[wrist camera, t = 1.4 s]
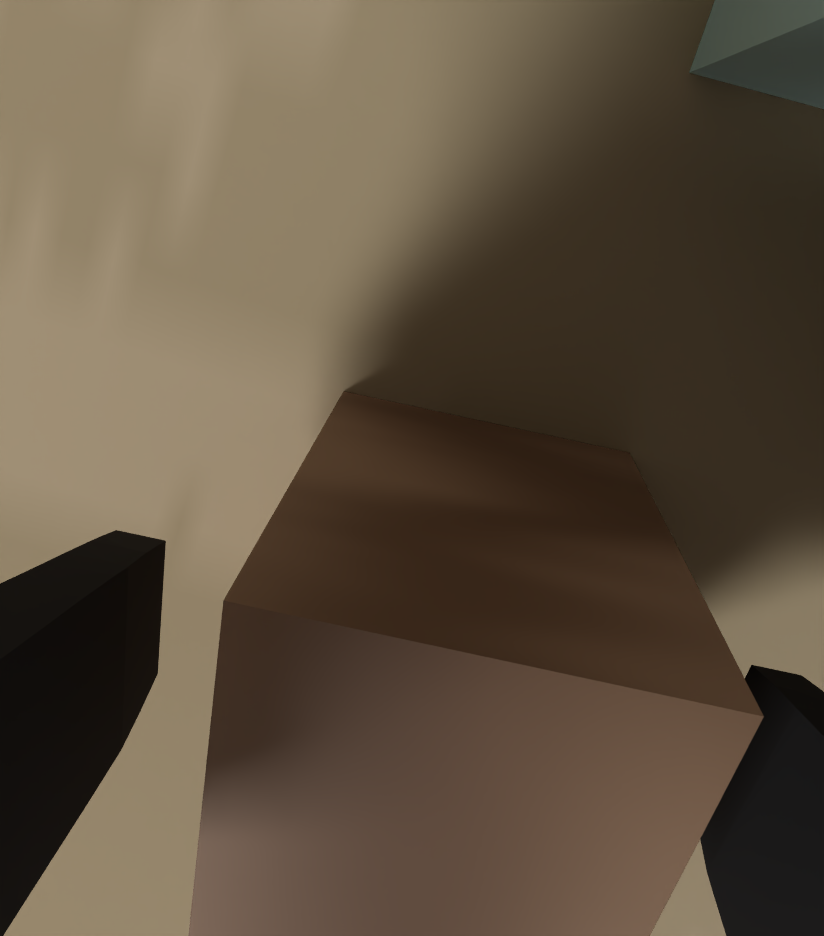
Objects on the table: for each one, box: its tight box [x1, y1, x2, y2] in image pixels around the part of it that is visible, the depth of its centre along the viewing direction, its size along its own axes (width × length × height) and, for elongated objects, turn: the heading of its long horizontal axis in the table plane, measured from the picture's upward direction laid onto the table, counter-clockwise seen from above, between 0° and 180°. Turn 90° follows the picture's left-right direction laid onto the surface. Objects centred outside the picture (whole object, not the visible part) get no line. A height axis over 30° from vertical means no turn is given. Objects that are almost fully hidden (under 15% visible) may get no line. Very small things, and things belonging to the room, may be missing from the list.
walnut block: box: [189, 391, 764, 936], centre depth 9 cm, size 4×4×6 cm
